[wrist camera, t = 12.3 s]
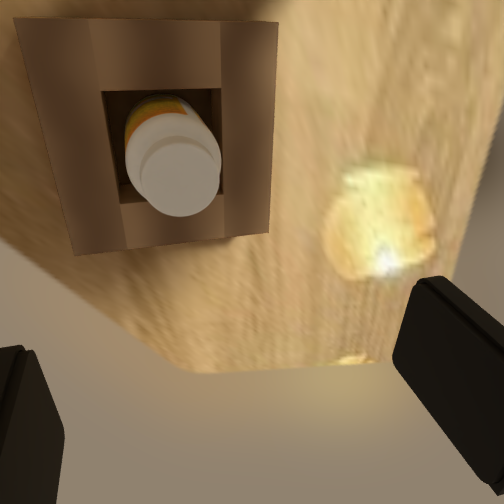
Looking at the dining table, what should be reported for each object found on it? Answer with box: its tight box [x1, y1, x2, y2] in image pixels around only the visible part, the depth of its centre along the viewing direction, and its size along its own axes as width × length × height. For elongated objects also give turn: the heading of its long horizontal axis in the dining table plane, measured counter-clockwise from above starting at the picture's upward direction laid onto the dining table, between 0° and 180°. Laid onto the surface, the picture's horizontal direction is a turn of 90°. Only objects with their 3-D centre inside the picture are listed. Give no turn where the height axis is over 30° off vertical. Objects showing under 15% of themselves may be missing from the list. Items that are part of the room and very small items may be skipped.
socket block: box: [13, 17, 279, 256], centre depth 26 cm, size 14×14×4 cm
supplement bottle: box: [124, 94, 221, 217], centre depth 24 cm, size 5×5×10 cm
